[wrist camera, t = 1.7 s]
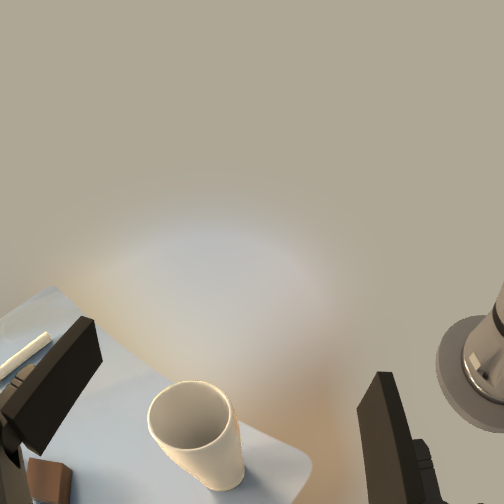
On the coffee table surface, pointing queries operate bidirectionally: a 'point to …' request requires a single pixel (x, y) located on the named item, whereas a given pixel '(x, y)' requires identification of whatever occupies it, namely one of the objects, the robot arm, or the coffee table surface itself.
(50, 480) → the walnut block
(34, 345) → the marker
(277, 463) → the coffee table surface
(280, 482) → the coffee table surface
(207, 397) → the drinking glass
